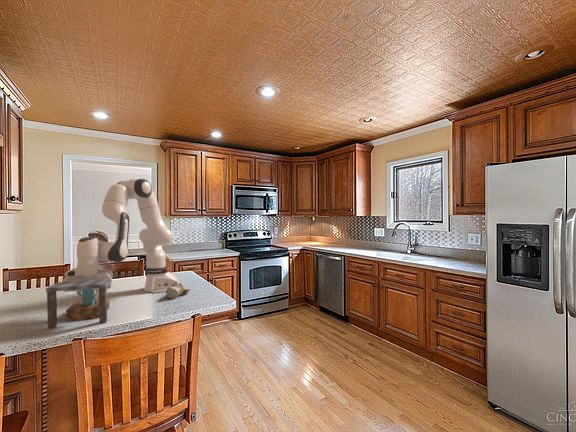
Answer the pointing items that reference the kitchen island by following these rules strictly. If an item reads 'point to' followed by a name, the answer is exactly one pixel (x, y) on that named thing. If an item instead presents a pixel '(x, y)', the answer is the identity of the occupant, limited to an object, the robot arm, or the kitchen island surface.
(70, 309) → the grey miniature side table
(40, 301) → the kitchen island surface
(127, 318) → the kitchen island surface
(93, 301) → the peg
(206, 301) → the kitchen island surface
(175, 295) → the ceramic sculpture
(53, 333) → the kitchen island surface
